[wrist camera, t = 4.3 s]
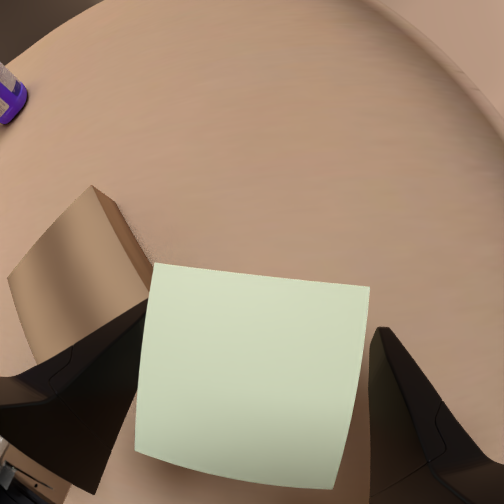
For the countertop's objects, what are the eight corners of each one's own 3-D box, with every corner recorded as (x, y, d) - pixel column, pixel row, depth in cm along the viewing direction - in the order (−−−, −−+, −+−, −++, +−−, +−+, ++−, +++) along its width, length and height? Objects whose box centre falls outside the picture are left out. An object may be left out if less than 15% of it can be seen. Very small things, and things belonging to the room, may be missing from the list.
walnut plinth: (85, 398, 16) (57, 406, 13) (33, 284, 19) (7, 278, 16) (188, 322, 17) (167, 321, 14) (114, 202, 19) (91, 184, 16)
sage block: (311, 395, 15) (332, 489, 5) (222, 383, 15) (134, 450, 6) (323, 308, 16) (369, 286, 6) (234, 297, 17) (154, 262, 7)
